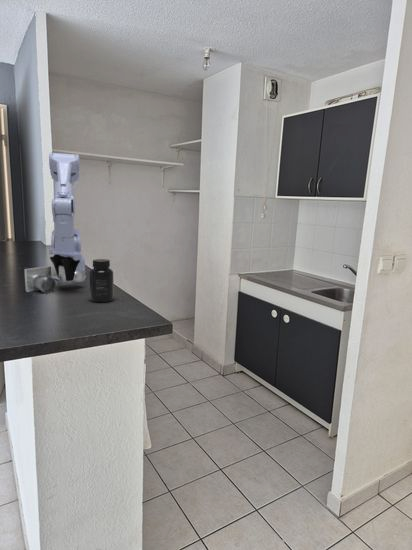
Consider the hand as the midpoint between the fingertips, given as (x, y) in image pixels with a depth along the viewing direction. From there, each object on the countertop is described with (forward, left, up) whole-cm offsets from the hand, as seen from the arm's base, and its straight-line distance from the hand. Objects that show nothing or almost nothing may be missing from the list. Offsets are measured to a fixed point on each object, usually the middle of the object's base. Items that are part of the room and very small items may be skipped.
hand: (65, 279), depth 120 cm
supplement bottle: (-1, +17, -4) cm, 17 cm away
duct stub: (+6, -3, -3) cm, 8 cm away
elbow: (-2, 0, -2) cm, 3 cm away
